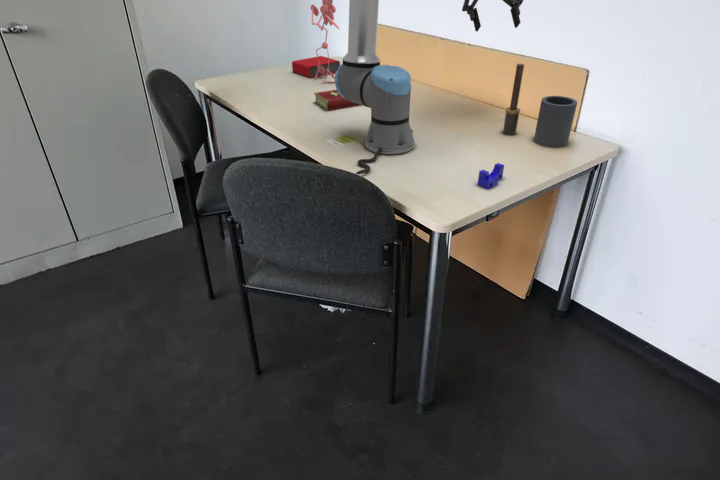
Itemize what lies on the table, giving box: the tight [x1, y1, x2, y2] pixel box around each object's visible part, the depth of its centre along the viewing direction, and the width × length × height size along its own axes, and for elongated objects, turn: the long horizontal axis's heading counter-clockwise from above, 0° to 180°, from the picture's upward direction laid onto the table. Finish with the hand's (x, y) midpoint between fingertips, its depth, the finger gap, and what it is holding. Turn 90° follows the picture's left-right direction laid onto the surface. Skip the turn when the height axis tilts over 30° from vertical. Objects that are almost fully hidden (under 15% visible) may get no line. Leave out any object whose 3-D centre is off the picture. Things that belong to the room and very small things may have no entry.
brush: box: [502, 63, 525, 136], centre depth 154 cm, size 4×4×22 cm
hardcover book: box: [313, 88, 361, 112], centre depth 188 cm, size 12×21×4 cm, turn 117°
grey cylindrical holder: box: [533, 95, 578, 148], centre depth 150 cm, size 10×10×13 cm
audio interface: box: [291, 55, 341, 78], centre depth 229 cm, size 18×14×5 cm
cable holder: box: [477, 162, 505, 190], centre depth 128 cm, size 8×4×4 cm, turn 129°
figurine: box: [310, 0, 340, 84], centre depth 210 cm, size 15×26×35 cm, turn 29°
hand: (498, 27), depth 155 cm, fingers open, 13 cm apart
